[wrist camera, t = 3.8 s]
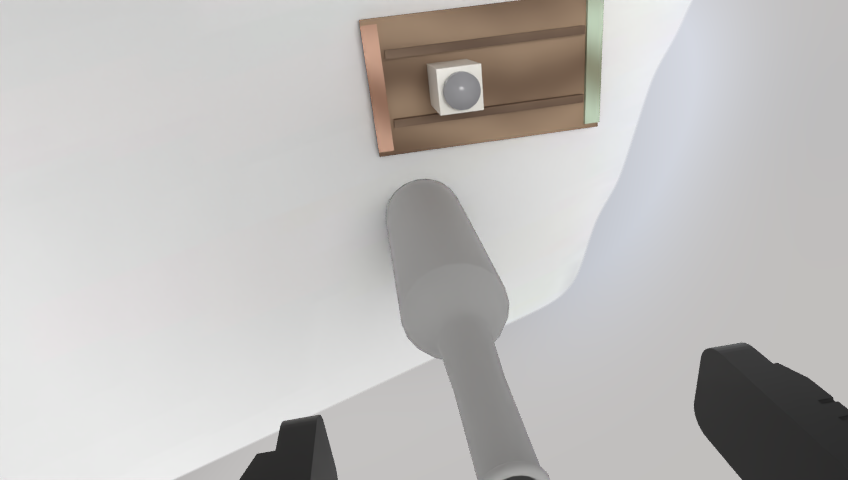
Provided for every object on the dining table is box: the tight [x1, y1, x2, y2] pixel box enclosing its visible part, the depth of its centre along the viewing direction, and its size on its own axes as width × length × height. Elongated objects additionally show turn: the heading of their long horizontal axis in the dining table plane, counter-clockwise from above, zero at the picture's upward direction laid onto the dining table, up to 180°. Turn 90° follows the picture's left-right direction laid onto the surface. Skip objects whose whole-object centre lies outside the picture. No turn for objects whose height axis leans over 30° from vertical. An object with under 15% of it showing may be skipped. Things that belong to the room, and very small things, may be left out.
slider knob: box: [427, 59, 484, 116], centre depth 35 cm, size 3×3×6 cm
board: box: [359, 0, 604, 157], centre depth 38 cm, size 10×18×2 cm, turn 96°
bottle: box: [386, 179, 550, 480], centre depth 30 cm, size 7×7×28 cm
